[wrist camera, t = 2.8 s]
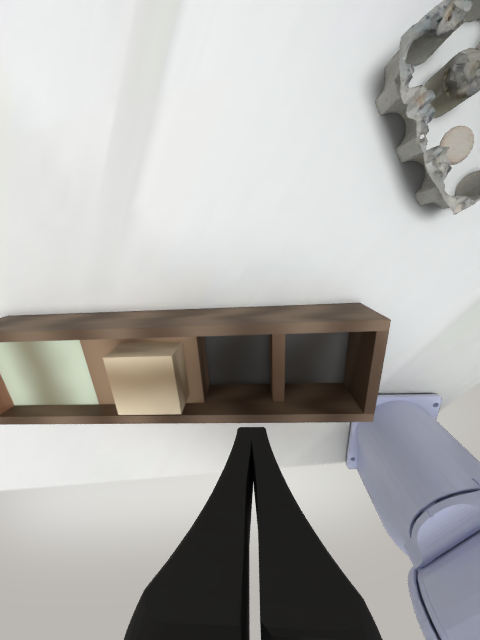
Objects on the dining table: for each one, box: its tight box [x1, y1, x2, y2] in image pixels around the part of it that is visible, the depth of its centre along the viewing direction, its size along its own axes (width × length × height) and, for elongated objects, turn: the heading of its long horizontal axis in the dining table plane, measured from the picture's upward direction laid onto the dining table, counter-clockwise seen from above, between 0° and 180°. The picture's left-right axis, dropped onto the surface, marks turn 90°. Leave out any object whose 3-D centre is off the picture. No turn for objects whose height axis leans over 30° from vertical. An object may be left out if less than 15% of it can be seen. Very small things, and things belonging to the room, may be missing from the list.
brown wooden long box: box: [0, 303, 391, 424], centre depth 20 cm, size 32×9×4 cm, turn 93°
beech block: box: [103, 341, 190, 415], centre depth 18 cm, size 5×5×2 cm
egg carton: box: [375, 0, 480, 215], centre depth 14 cm, size 11×8×4 cm
